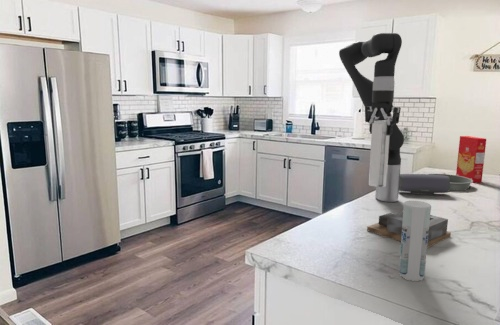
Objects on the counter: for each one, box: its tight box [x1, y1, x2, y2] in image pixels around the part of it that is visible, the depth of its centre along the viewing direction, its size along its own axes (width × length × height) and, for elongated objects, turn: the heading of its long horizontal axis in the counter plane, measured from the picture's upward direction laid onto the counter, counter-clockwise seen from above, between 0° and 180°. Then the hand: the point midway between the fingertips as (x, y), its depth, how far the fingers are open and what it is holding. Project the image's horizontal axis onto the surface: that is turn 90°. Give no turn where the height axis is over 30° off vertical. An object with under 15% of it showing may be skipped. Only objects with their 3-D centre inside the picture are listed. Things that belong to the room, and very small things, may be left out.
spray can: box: [398, 200, 432, 282], centre depth 98 cm, size 6×6×20 cm
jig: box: [366, 211, 452, 248], centre depth 130 cm, size 21×18×6 cm
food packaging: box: [455, 135, 487, 184], centre depth 215 cm, size 15×5×25 cm, turn 6°
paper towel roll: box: [368, 120, 390, 188], centre depth 141 cm, size 6×6×25 cm
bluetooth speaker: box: [399, 173, 451, 196], centre depth 184 cm, size 23×9×10 cm, turn 80°
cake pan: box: [429, 173, 473, 191], centre depth 202 cm, size 25×25×4 cm
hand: (380, 134), depth 139 cm, fingers closed on paper towel roll, 6 cm apart
